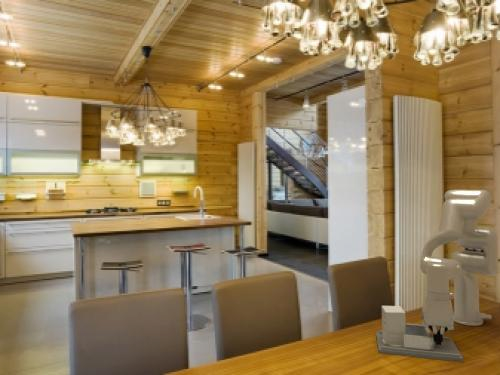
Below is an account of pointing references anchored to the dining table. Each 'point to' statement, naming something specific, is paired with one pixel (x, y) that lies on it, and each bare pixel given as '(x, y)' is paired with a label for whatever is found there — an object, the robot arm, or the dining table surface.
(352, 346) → the dining table surface
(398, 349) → the base plate
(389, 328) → the supplement box
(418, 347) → the collar
